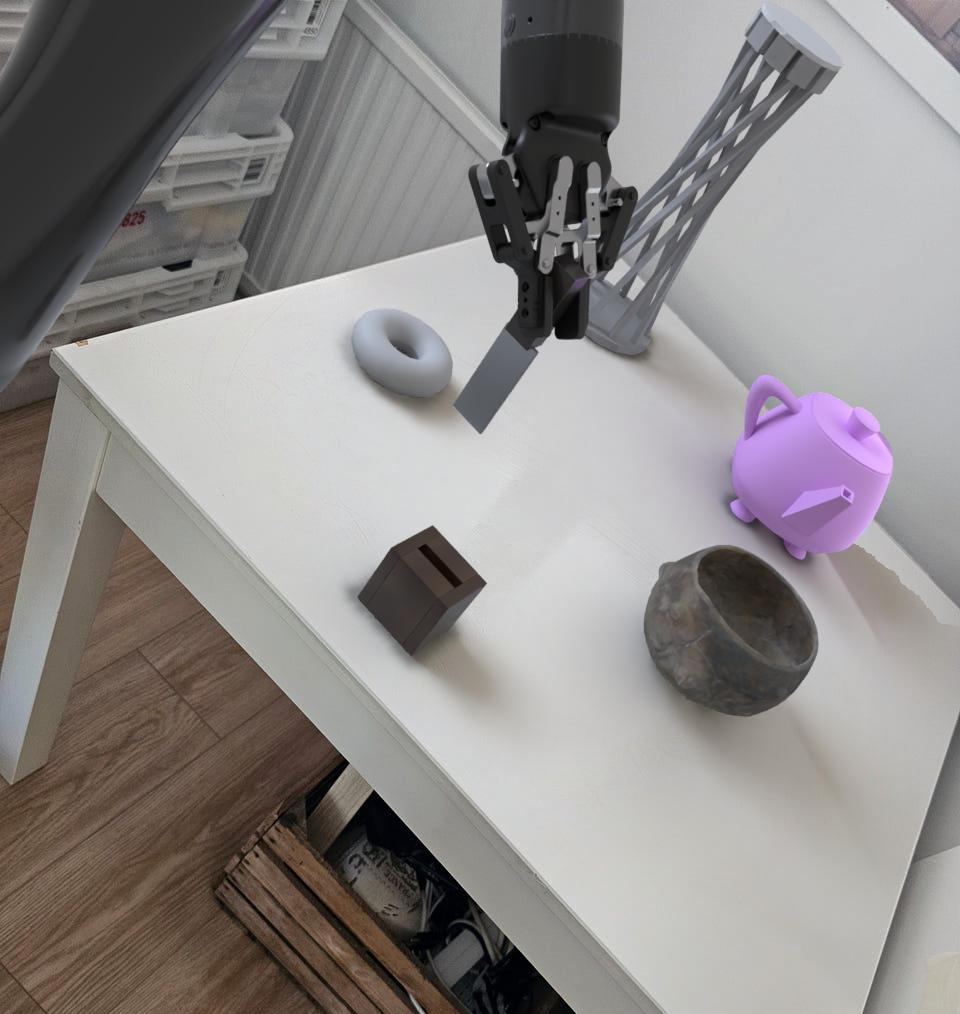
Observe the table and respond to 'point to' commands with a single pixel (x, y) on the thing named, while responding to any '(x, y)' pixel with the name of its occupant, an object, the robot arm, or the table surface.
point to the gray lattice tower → (710, 169)
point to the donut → (393, 368)
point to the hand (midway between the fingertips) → (553, 337)
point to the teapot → (809, 468)
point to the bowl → (729, 631)
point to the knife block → (421, 589)
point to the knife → (515, 351)
